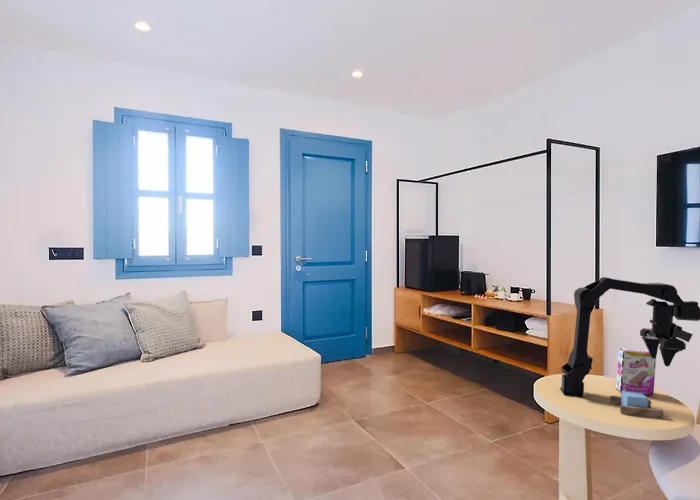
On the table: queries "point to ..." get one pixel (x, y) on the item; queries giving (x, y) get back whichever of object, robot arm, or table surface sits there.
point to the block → (634, 399)
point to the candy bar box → (635, 371)
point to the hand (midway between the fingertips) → (660, 362)
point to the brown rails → (637, 409)
